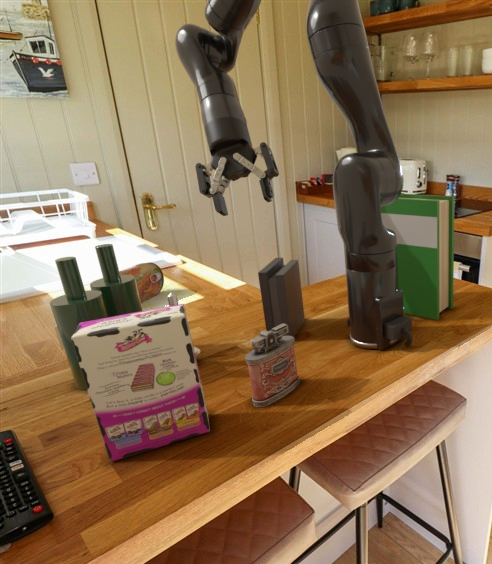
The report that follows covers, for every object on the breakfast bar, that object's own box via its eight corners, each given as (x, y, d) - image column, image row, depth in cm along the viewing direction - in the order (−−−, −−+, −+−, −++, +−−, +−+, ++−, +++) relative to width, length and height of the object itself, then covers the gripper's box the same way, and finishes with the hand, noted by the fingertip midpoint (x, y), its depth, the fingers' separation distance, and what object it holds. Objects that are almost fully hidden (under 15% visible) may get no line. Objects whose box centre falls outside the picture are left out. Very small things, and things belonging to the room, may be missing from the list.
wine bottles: (124, 346, 78) (97, 241, 72) (159, 346, 78) (135, 240, 72) (63, 390, 65) (22, 265, 58) (105, 390, 65) (69, 264, 58)
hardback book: (453, 308, 92) (454, 196, 84) (437, 320, 86) (437, 201, 78) (385, 294, 101) (381, 192, 93) (367, 304, 95) (361, 197, 87)
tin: (120, 312, 95) (111, 276, 92) (108, 311, 96) (99, 276, 93) (167, 290, 109) (161, 258, 106) (157, 289, 110) (150, 258, 107)
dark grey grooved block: (304, 319, 88) (297, 257, 84) (291, 341, 79) (283, 272, 74) (283, 320, 88) (275, 257, 84) (267, 341, 79) (257, 272, 74)
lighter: (263, 409, 59) (253, 345, 55) (247, 402, 60) (236, 339, 57) (304, 382, 65) (297, 322, 62) (289, 376, 67) (281, 318, 63)
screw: (198, 355, 74) (205, 366, 71) (168, 364, 72) (173, 375, 68) (184, 285, 70) (190, 293, 67) (151, 292, 67) (156, 300, 64)
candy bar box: (208, 412, 58) (185, 301, 53) (211, 433, 54) (186, 315, 49) (112, 439, 54) (77, 320, 48) (108, 464, 49) (68, 336, 44)
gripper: (178, 129, 75) (197, 213, 73) (253, 104, 75) (275, 188, 72) (201, 147, 83) (219, 224, 80) (269, 125, 82) (290, 202, 80)
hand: (246, 207), depth 76 cm, fingers open, 8 cm apart
